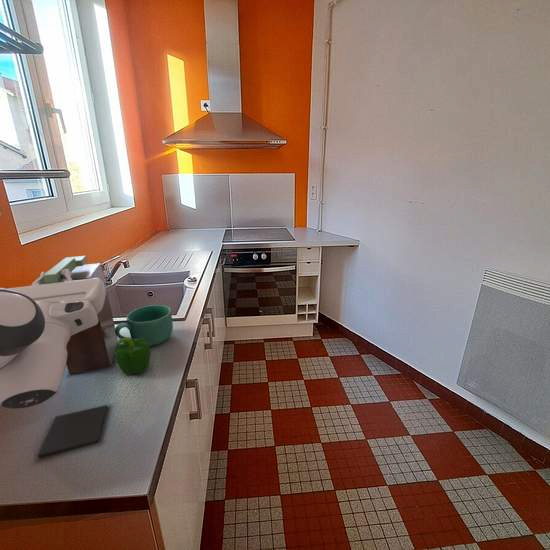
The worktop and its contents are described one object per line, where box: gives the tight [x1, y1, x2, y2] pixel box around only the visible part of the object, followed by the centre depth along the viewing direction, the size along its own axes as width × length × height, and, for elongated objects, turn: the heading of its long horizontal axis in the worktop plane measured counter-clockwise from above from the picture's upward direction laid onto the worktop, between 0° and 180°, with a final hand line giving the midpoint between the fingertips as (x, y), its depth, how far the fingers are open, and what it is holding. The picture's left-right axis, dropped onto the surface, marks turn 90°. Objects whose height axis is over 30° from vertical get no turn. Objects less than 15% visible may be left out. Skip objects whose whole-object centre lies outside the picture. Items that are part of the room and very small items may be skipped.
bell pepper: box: [114, 337, 151, 375], centre depth 80 cm, size 8×8×10 cm
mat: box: [37, 404, 108, 458], centre depth 62 cm, size 10×10×1 cm
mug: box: [115, 304, 174, 347], centre depth 93 cm, size 17×13×10 cm
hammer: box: [43, 255, 88, 284], centre depth 74 cm, size 19×5×2 cm, turn 18°
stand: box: [61, 262, 119, 375], centre depth 84 cm, size 10×14×26 cm
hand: (56, 272), depth 68 cm, fingers closed on hammer, 2 cm apart
